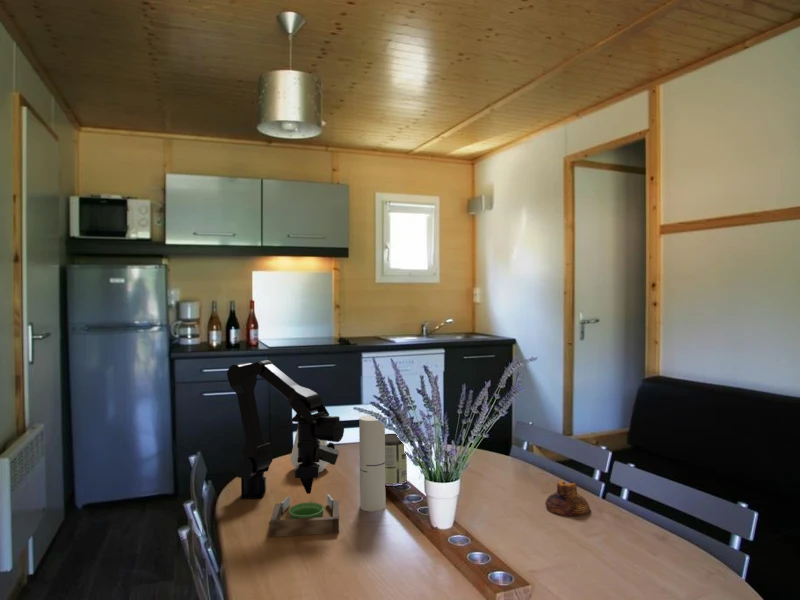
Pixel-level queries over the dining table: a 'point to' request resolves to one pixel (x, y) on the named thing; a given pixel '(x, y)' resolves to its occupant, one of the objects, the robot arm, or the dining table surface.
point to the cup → (295, 454)
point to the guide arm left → (285, 504)
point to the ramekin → (306, 510)
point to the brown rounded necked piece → (567, 501)
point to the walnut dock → (303, 523)
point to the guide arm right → (330, 501)
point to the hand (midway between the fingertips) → (308, 493)
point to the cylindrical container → (372, 464)
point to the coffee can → (395, 460)
